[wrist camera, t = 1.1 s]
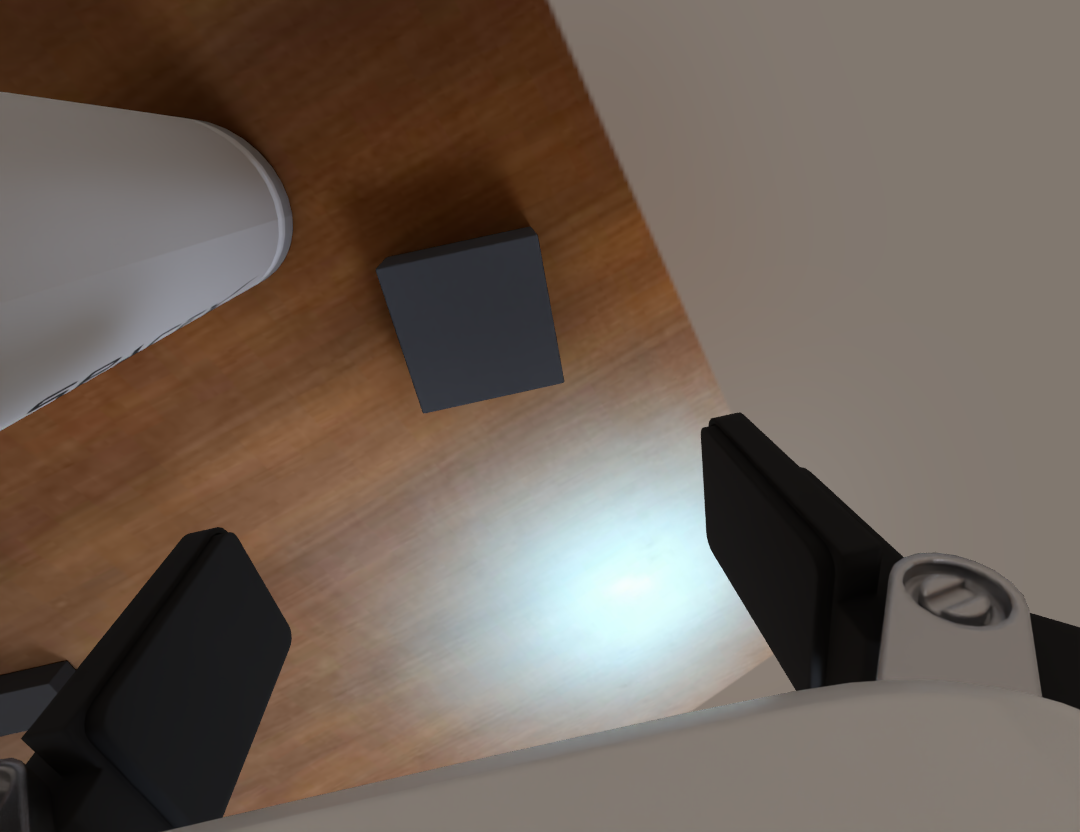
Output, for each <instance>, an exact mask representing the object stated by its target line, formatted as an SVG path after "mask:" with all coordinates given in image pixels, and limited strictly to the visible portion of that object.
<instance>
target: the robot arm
mask: <svg viewBox="0 0 1080 832" xmlns="http://www.w3.org/2000/svg"><path fill="white" fill-rule="evenodd" d="M701 445H702V463H703V481H704V499H705V516H706V533H707V539H708V543H709V546H710V548H711V551H712V552H713V554H714V556H715V558H716V559H717V561H718V562H719V564H720V566H721V567H722V569H723V571H724V572H725V574H726V576H727V577H728V579H729V581H730V582H731V584H732V586H733V587H734V589H735V591H736V592H737V594H738V596H739V597H740V599H741V600H742V602H743V604H744V605H745V607H746V609H747V610H748V612H749V614H750V615H751V617H752V619H753V620H754V622H755V624H756V625H757V627H758V629H759V630H760V632H761V634H762V635H763V637H764V638H765V640H766V642H767V643H768V645H769V647H770V648H771V650H772V652H773V653H774V655H775V657H776V658H777V660H778V661H779V663H780V665H781V667H782V668H783V670H784V671H785V673H786V675H787V676H788V678H789V680H790V681H791V683H792V685H793V686H794V688H795V690H796V691H793V692H788V693H783V694H778V695H773V696H768V697H764V698H759V699H753V700H748V701H743V702H738V703H733V704H729V705H724V706H719V707H714V708H709V709H704V710H699V711H694V712H689V713H684V714H680V715H675V716H671V717H666V718H662V719H657V720H652V721H648V722H643V723H639V724H634V725H630V726H625V727H621V728H616V729H612V730H607V731H603V732H598V733H594V734H589V735H584V736H580V737H575V738H571V739H566V740H562V741H557V742H553V743H548V744H544V745H539V746H535V747H530V748H526V749H521V750H517V751H512V752H508V753H503V754H499V755H494V756H490V757H486V758H481V759H477V760H472V761H468V762H463V763H459V764H455V765H450V766H446V767H441V768H437V769H432V770H428V771H424V772H419V773H415V774H410V775H406V776H402V777H397V778H393V779H388V780H384V781H380V782H375V783H371V784H366V785H362V786H358V787H353V788H349V789H344V790H340V791H336V792H331V793H327V794H322V795H318V796H314V797H309V798H305V799H301V800H297V801H292V802H288V803H284V804H279V805H275V806H271V807H266V808H262V809H258V810H254V811H249V812H245V813H241V814H236V815H232V816H228V817H224V818H222V817H223V815H224V812H225V810H226V807H227V805H228V802H229V800H230V797H231V795H232V792H233V790H234V787H235V785H236V782H237V779H238V777H239V774H240V772H241V769H242V767H243V764H244V762H245V759H246V757H247V754H248V752H249V749H250V747H251V744H252V742H253V739H254V737H255V734H256V732H257V729H258V727H259V724H260V721H261V719H262V716H263V714H264V711H265V709H266V706H267V704H268V701H269V699H270V696H271V694H272V691H273V689H274V686H275V684H276V681H277V679H278V676H279V674H280V671H281V668H282V666H283V663H284V661H285V658H286V656H287V653H288V651H289V648H290V645H291V639H292V638H291V630H290V627H289V625H288V623H287V622H286V620H285V618H284V617H283V615H282V613H281V611H280V610H279V608H278V606H277V604H276V603H275V601H274V599H273V598H272V596H271V594H270V592H269V591H268V589H267V587H266V586H265V584H264V582H263V580H262V579H261V577H260V575H259V573H258V572H257V570H256V568H255V567H254V565H253V563H252V561H251V560H250V558H249V556H248V555H247V553H246V551H245V549H244V548H243V546H242V544H241V542H240V541H239V539H238V538H237V536H236V535H235V534H233V533H231V532H227V531H226V530H224V529H223V528H219V527H217V528H212V529H208V530H203V531H199V532H194V533H190V534H187V535H185V536H184V537H183V538H182V539H181V540H180V542H179V543H178V544H177V545H176V547H175V548H174V549H173V550H172V552H171V553H170V554H169V555H168V557H167V558H166V559H165V560H164V562H163V563H162V564H161V565H160V567H159V568H158V569H157V570H156V571H155V573H154V574H153V575H152V576H151V578H150V579H149V580H148V581H147V583H146V584H145V585H144V586H143V588H142V589H141V590H140V591H139V593H138V594H137V595H136V596H135V598H134V599H133V600H132V601H131V603H130V604H129V605H128V606H127V608H126V609H125V610H124V611H123V613H122V614H121V615H120V616H119V618H118V619H117V620H116V621H115V622H114V624H113V625H112V626H111V627H110V629H109V630H108V631H107V632H106V634H105V635H104V636H103V637H102V639H101V640H100V641H99V642H98V644H97V645H96V646H95V647H94V649H93V650H92V651H91V652H90V654H89V655H88V656H87V657H86V659H85V660H84V661H83V662H82V664H81V665H80V666H79V667H78V669H77V670H76V671H75V672H74V673H73V675H72V676H71V677H70V678H69V680H68V681H67V682H66V683H65V685H64V686H63V687H62V688H61V690H60V691H59V692H58V693H57V695H56V696H55V697H54V698H53V700H52V701H51V702H50V703H49V705H48V706H47V707H46V708H45V710H44V711H43V712H42V713H41V715H40V716H39V717H38V718H37V720H36V721H35V722H34V723H33V724H32V726H31V727H30V728H29V729H28V731H27V732H26V733H25V734H24V736H23V737H22V738H21V739H22V740H23V741H24V742H25V743H26V744H27V745H28V746H29V747H30V748H31V749H32V750H34V751H35V753H34V754H33V756H32V757H31V758H30V760H29V761H28V762H27V764H26V765H25V764H24V763H23V762H22V761H20V760H17V759H14V758H7V759H0V832H1080V627H1076V626H1073V625H1069V624H1066V623H1063V622H1059V621H1055V620H1052V619H1049V618H1046V617H1042V616H1039V615H1035V614H1032V613H1030V612H1029V608H1028V605H1027V603H1026V600H1025V598H1024V595H1023V594H1022V593H1021V592H1020V591H1019V590H1018V589H1017V588H1016V587H1015V585H1014V584H1013V583H1012V582H1010V581H1009V580H1008V579H1006V578H1005V577H1003V576H1002V575H1001V574H999V573H998V572H996V571H995V570H993V569H991V568H988V567H986V566H984V565H982V564H980V563H978V562H976V561H973V560H969V559H966V558H962V557H959V556H956V555H949V554H941V553H918V554H914V555H911V556H908V557H903V556H902V555H901V554H899V553H898V552H897V551H896V550H895V549H894V548H893V547H892V546H891V545H890V544H888V543H887V542H886V541H885V540H884V539H883V538H882V537H881V536H880V535H879V534H878V533H877V532H875V531H874V530H873V529H872V528H871V527H870V526H869V525H868V524H867V523H866V522H865V521H863V520H862V519H861V518H860V517H859V516H858V515H857V514H856V513H855V512H854V511H853V510H851V509H850V508H849V507H848V506H847V505H846V504H845V503H844V502H843V501H842V500H841V499H840V498H839V497H837V496H836V495H835V494H834V493H833V492H832V491H831V490H830V489H829V488H828V487H826V486H825V485H824V484H823V483H822V482H821V481H820V480H819V479H818V478H817V477H816V476H815V475H813V474H812V473H811V472H810V471H808V470H807V469H805V468H801V467H799V466H798V465H797V464H796V463H795V462H794V461H793V460H792V459H790V458H789V457H788V456H787V455H786V454H785V453H784V452H783V451H782V450H781V449H780V448H779V447H778V446H776V445H775V444H774V443H773V442H772V441H771V440H770V439H769V438H768V437H767V436H765V434H764V433H763V432H762V431H760V430H759V429H758V428H757V427H756V426H755V425H754V424H753V423H752V422H751V421H750V420H749V419H748V418H747V417H745V416H744V415H743V414H742V413H734V414H730V415H725V416H721V417H716V418H711V420H710V421H709V427H704V428H702V430H701Z"/></svg>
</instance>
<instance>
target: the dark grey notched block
mask: <svg viewBox="0 0 1080 832" xmlns="http://www.w3.org/2000/svg"><path fill="white" fill-rule="evenodd" d="M75 671H76V670H75V669H74V668H73V667H72V666H71V665H70V664H69V663H68V662H67V661H64V662H59V663H55V664H50V665H46V666H42V667H37V668H33V669H28V670H24V671H19V672H15V673H10V674H6V675H2V676H0V736H5V735H9V734H13V733H18V732H22V731H27V730H28V729H29V728H30V727H31V726H32V724H33V723H34V722H35V721H36V720H37V718H38V717H39V716H40V715H41V713H42V712H43V711H44V710H45V708H46V707H47V706H48V705H49V703H50V702H51V701H52V700H53V698H54V697H55V696H56V695H57V693H58V692H59V691H60V690H61V688H62V687H63V686H64V685H65V683H66V682H67V681H68V680H69V678H70V677H71V676H72V675H73V673H74V672H75Z"/></svg>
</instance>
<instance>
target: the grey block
mask: <svg viewBox="0 0 1080 832" xmlns="http://www.w3.org/2000/svg"><path fill="white" fill-rule="evenodd" d="M376 273H377V276H378V279H379V282H380V285H381V288H382V291H383V294H384V297H385V300H386V303H387V306H388V309H389V312H390V315H391V318H392V321H393V324H394V327H395V331H396V334H397V337H398V340H399V343H400V346H401V349H402V352H403V355H404V358H405V361H406V364H407V367H408V370H409V373H410V376H411V379H412V382H413V385H414V388H415V391H416V394H417V397H418V400H419V403H420V406H421V409H422V412H423V413H428V412H433V411H438V410H442V409H447V408H451V407H456V406H460V405H465V404H469V403H474V402H478V401H483V400H487V399H492V398H497V397H501V396H506V395H510V394H515V393H519V392H524V391H528V390H533V389H537V388H542V387H547V386H551V385H556V384H560V383H564V377H563V372H562V366H561V361H560V355H559V350H558V344H557V339H556V333H555V328H554V322H553V317H552V311H551V306H550V300H549V295H548V289H547V284H546V278H545V273H544V267H543V262H542V256H541V251H540V245H539V240H538V235H537V234H536V233H535V231H534V230H533V229H532V228H531V227H525V228H521V229H516V230H511V231H507V232H502V233H498V234H493V235H488V236H484V237H479V238H474V239H470V240H465V241H460V242H456V243H451V244H447V245H442V246H437V247H433V248H428V249H423V250H419V251H414V252H409V253H405V254H400V255H395V256H391V257H387V258H385V259H384V261H383V262H382V263H381V264H380V265H379V266H378V267H377V268H376Z"/></svg>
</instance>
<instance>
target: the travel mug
mask: <svg viewBox="0 0 1080 832" xmlns="http://www.w3.org/2000/svg"><path fill="white" fill-rule="evenodd" d="M292 233H293V223H292V212H291V208H290V203H289V199H288V196H287V194H286V192H285V189H284V187H283V185H282V182H281V181H280V179H279V177H278V176H277V174H276V173H275V171H274V169H273V168H272V166H271V165H270V164H269V163H268V162H267V161H266V159H265V158H264V157H263V156H262V155H261V154H260V153H259V151H257V150H256V149H255V148H254V147H252V146H251V145H250V144H249V143H248V142H246V141H245V140H244V139H243V138H241V137H239V136H238V135H236V134H234V133H232V132H231V131H229V130H227V129H225V128H223V127H220V126H217V125H215V124H212V123H210V122H205V121H200V120H194V119H188V118H181V117H174V116H167V115H160V114H153V113H146V112H139V111H132V110H125V109H118V108H111V107H104V106H97V105H90V104H83V103H76V102H69V101H62V100H55V99H48V98H41V97H34V96H27V95H20V94H13V93H6V92H0V431H1V430H3V429H4V428H6V427H8V426H10V425H11V424H13V423H15V422H17V421H18V420H20V419H22V418H24V417H25V416H27V415H29V414H31V413H32V412H34V411H36V410H38V409H39V408H41V407H43V406H45V405H46V404H48V403H50V402H52V401H53V400H55V399H57V398H59V397H60V396H62V395H64V394H66V393H67V392H69V391H71V390H73V389H74V388H76V387H78V386H80V385H81V384H83V383H85V382H87V381H88V380H90V379H92V378H94V377H95V376H97V375H99V374H101V373H102V372H104V371H106V370H108V369H109V368H111V367H113V366H115V365H116V364H118V363H120V362H122V361H123V360H125V359H127V358H129V357H130V356H132V355H134V354H136V353H137V352H139V351H141V350H143V349H144V348H146V347H148V346H150V345H152V344H153V343H155V342H157V341H159V340H160V339H162V338H164V337H166V336H167V335H169V334H171V333H173V332H174V331H176V330H178V329H180V328H181V327H183V326H185V325H187V324H188V323H190V322H192V321H194V320H195V319H197V318H199V317H201V316H202V315H204V314H206V313H208V312H209V311H211V310H213V309H215V308H216V307H218V306H220V305H222V304H223V303H225V302H227V301H229V300H230V299H232V298H234V297H236V296H237V295H239V294H241V293H243V292H244V291H246V290H248V289H250V288H251V287H253V286H255V285H257V284H258V283H260V282H262V281H264V280H265V279H267V278H268V277H269V276H270V275H272V274H273V273H274V272H275V271H276V270H277V269H278V268H279V266H280V265H281V263H282V262H283V261H284V259H285V257H286V255H287V252H288V250H289V248H290V244H291V239H292Z"/></svg>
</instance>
